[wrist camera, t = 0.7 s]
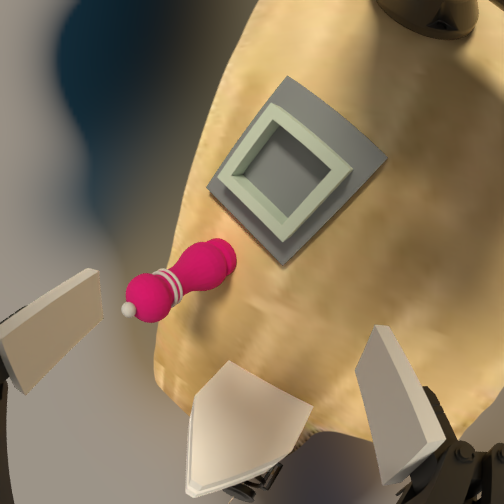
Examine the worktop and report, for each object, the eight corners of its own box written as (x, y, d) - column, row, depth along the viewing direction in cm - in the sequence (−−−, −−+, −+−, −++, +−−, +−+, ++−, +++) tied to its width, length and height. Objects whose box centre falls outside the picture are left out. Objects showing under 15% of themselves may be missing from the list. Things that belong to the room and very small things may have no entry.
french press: (243, 437, 60) (195, 499, 41) (262, 430, 55) (210, 501, 36) (276, 460, 58) (234, 522, 39) (296, 454, 53) (254, 525, 34)
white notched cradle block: (216, 396, 58) (149, 467, 37) (228, 359, 51) (144, 445, 31) (285, 436, 52) (232, 519, 31) (313, 405, 45) (254, 513, 24)
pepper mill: (233, 231, 42) (129, 282, 25) (244, 276, 43) (154, 345, 26) (197, 238, 45) (97, 283, 29) (209, 278, 47) (119, 336, 30)
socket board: (291, 78, 30) (278, 68, 26) (387, 157, 28) (388, 156, 24) (211, 186, 41) (193, 189, 37) (286, 262, 39) (274, 273, 35)
